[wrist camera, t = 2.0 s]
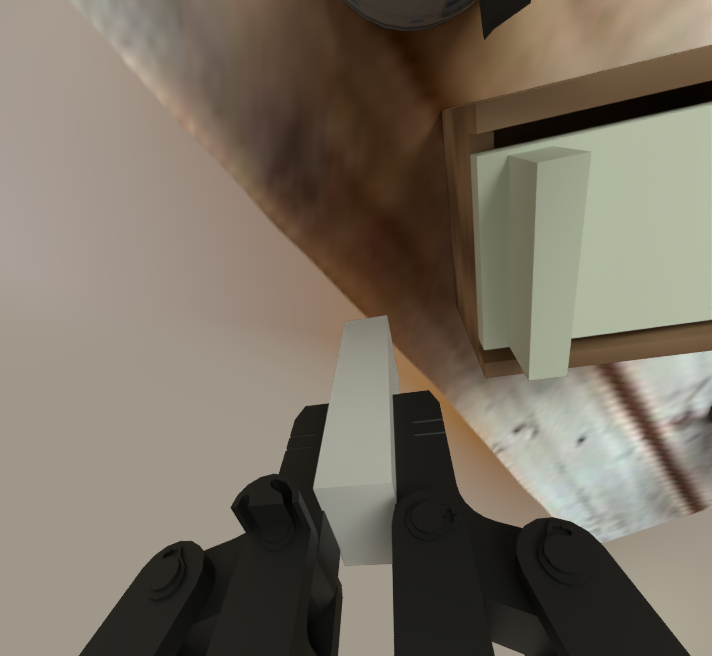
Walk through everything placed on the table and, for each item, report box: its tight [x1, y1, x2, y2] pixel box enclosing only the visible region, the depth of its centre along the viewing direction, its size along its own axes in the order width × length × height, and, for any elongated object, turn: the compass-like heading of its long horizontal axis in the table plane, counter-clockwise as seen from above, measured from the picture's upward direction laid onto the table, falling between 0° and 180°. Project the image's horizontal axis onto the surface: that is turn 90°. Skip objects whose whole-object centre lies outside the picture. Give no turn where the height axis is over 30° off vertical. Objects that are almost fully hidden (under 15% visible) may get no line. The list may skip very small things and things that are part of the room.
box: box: [442, 45, 712, 378], centre depth 19 cm, size 13×13×8 cm
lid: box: [470, 101, 712, 381], centre depth 14 cm, size 9×13×4 cm
